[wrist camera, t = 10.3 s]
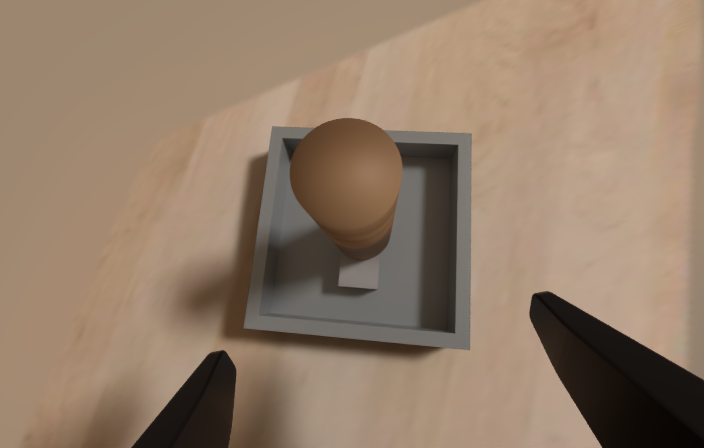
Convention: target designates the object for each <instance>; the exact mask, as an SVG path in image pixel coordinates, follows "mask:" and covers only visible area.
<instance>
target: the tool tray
mask: <svg viewBox="0 0 704 448" xmlns="http://www.w3.org/2000/svg"><path fill="white" fill-rule="evenodd" d="M313 129H315V128H301V127H273V126H272V132H271V139H270V146H269V153H268V160H267V167H266V174H265V181H264V188H263V195H262V202H261V209H260V216H259V223H258V230H257V237H256V244H255V251H254V258H253V265H252V272H251V279H250V286H249V293H248V300H247V307H246V314H245V321H244V328H247V329H257V330H267V331H278V332H288V333H298V334H309V335H319V336H329V337H340V338H350V339H360V340H371V341H381V342H391V343H401V344H412V345H422V346H432V347H443V348H453V349H463V350H470V278H471V146H472V133H444V132H416V131H387V130H384V131H385V132H386V133H387V134H388V135H389V136H390V137H391V139H392V140H393V141H394V143H395V144H396V146H397V148H398V150H399V153H400V156H401V160H402V180H401V185H400V190H399V195H398V200H397V205H396V211H395V216H394V221H393V226H392V231H391V236H390V240H389V242H388V245H387V246H386V248H385V249H384V250H383V251H382V252H381V253H380V259H379V275H378V290H377V289H365V288H352V287H341V286H338V283H339V272H340V261H341V250H340V249H339V248H338V247H337V246H336V245H335V243H334V242H333V241H332V240H331V239H330V238H329V237H328V236H327V234H326V233H325V232H324V231H323V230H322V229H321V228H320V227H319V225H318V224H317V223H316V222H315V221H314V220H313V219H312V218H311V216H310V215H309V214H308V213H307V212H306V211H305V210H304V209H303V207H302V206H301V205H300V204H299V202H298V201H297V199H296V197H295V195H294V193H293V190H292V188H291V183H290V164H291V160H292V157H293V154H294V152H295V150H296V148H297V146H298V145H299V143H300V142H301V140H302V139H303V138H304V137H305V136H306V135H307V134H308V133H309V132H310V131H312V130H313Z"/></svg>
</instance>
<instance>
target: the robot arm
mask: <svg viewBox="0 0 704 448" xmlns="http://www.w3.org/2000/svg"><path fill="white" fill-rule="evenodd" d="M529 314H530V319H531V322H532V324H533V326H534V328H535V330H536V332H537V334H538V336H539V338H540V340H541V343H542V345H543V347H544V349H545V351H546V353H547V355H548V357H549V359H550V361H551V363H552V365H553V367H554V369H555V371H556V373H557V375H558V376H559V378H560V380H561V381H562V383H563V385H564V386H565V388H566V390H567V391H568V393H569V394H570V396H571V398H572V399H573V401H574V403H575V404H576V406H577V407H578V409H579V411H580V412H581V414H582V416H583V417H584V419H585V420H586V422H587V424H588V425H589V427H590V428H591V430H592V432H593V433H594V435H595V437H596V438H597V440H598V441H599V443H600V445H601V446H602V448H704V380H703V379H701V378H699V377H698V376H696V375H694V374H692V373H691V372H689V371H687V370H686V369H684V368H682V367H680V366H679V365H677V364H675V363H673V362H672V361H670V360H668V359H666V358H665V357H663V356H661V355H659V354H658V353H656V352H654V351H652V350H651V349H649V348H647V347H645V346H644V345H642V344H640V343H639V342H637V341H635V340H633V339H632V338H630V337H628V336H626V335H625V334H623V333H621V332H619V331H618V330H616V329H614V328H612V327H611V326H609V325H607V324H605V323H604V322H602V321H600V320H598V319H597V318H595V317H593V316H591V315H590V314H588V313H586V312H584V311H583V310H581V309H579V308H578V307H576V306H574V305H572V304H571V303H569V302H567V301H565V300H564V299H562V298H560V297H558V296H557V295H555V294H553V293H551V292H548V291H544V292H539V293H535V294H533V296H532V300H531V306H530V313H529ZM235 384H236V368H235V365H234V364H233V362H232V360H231V359H230V357H229V356H228V354H227V353H226V351H224V350H221V351H216V352H211V353H210V354H208V355H207V357H206V358H205V359H204V360H203V361H202V363H201V364H200V365H199V366H198V368H197V369H196V370H195V371H194V372H193V374H192V375H191V376H190V377H189V378H188V380H187V381H186V382H185V383H184V384H183V386H182V387H181V388H180V389H179V391H178V392H177V393H176V394H175V395H174V397H173V398H172V399H171V400H170V401H169V403H168V404H167V405H166V406H165V407H164V409H163V410H162V411H161V412H160V414H159V415H158V416H157V417H156V418H155V420H154V421H153V422H152V423H151V424H150V426H149V427H148V428H147V429H146V430H145V432H144V433H143V434H142V435H141V437H140V438H139V439H138V440H137V441H136V443H135V444H134V445H133V446H132V447H131V448H228V445H229V440H230V434H231V428H232V419H233V408H234V396H235Z"/></svg>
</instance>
